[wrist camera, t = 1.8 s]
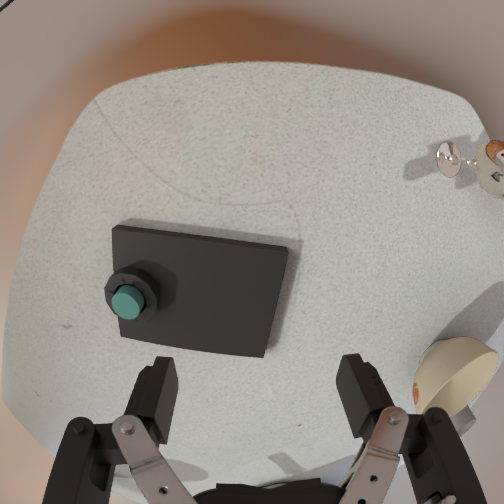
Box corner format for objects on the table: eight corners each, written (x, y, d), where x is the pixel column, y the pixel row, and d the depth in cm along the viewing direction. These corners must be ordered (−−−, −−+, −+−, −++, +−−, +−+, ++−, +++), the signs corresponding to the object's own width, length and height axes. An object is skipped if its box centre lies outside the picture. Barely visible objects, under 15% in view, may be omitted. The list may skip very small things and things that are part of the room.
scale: (120, 329, 31) (112, 343, 28) (112, 224, 26) (100, 232, 23) (262, 350, 33) (264, 367, 30) (286, 246, 28) (291, 258, 25)
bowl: (440, 381, 39) (462, 414, 30) (379, 390, 38) (400, 435, 29) (479, 314, 34) (511, 346, 24) (422, 314, 32) (459, 357, 23)
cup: (435, 399, 42) (453, 431, 33) (462, 385, 42) (481, 413, 32) (426, 418, 45) (441, 447, 36) (452, 404, 45) (468, 431, 35)
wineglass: (469, 158, 24) (539, 175, 13) (450, 191, 26) (521, 219, 15) (445, 126, 23) (521, 130, 12) (425, 160, 24) (503, 177, 13)
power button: (118, 307, 27) (113, 316, 25) (116, 282, 26) (109, 290, 24) (145, 312, 27) (140, 322, 26) (144, 287, 26) (138, 295, 24)
